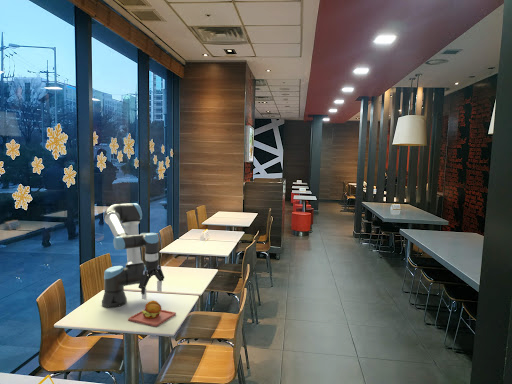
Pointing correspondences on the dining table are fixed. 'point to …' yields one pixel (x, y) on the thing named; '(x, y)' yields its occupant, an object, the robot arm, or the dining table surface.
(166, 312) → the tray
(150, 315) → the cheeseburger
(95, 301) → the dining table surface
